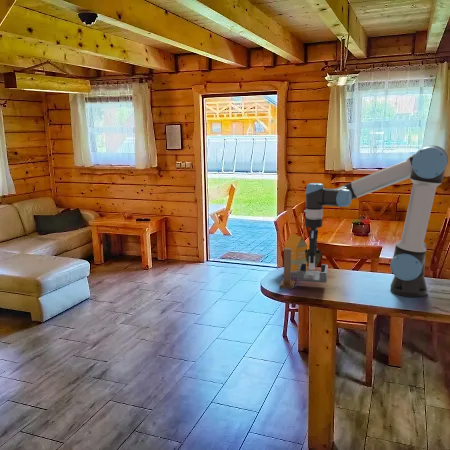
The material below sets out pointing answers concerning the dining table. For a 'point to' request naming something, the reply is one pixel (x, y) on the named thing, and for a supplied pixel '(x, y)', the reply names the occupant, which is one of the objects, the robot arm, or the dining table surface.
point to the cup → (317, 256)
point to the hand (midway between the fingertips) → (312, 266)
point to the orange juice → (296, 251)
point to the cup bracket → (301, 272)
